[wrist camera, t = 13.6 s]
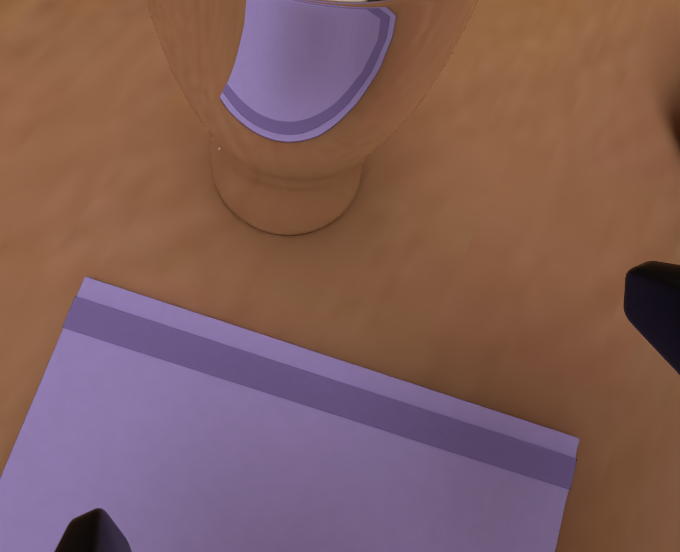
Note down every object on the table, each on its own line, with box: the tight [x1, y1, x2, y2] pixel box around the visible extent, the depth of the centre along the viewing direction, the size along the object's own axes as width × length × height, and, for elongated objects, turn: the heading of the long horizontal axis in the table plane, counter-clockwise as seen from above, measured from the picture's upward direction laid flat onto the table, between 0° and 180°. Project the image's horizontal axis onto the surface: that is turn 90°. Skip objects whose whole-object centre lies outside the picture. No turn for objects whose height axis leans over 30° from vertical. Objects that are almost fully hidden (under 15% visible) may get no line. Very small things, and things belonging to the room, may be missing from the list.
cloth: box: [0, 277, 579, 552], centre depth 21 cm, size 20×12×1 cm, turn 72°
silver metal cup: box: [147, 0, 478, 235], centre depth 16 cm, size 7×7×15 cm
